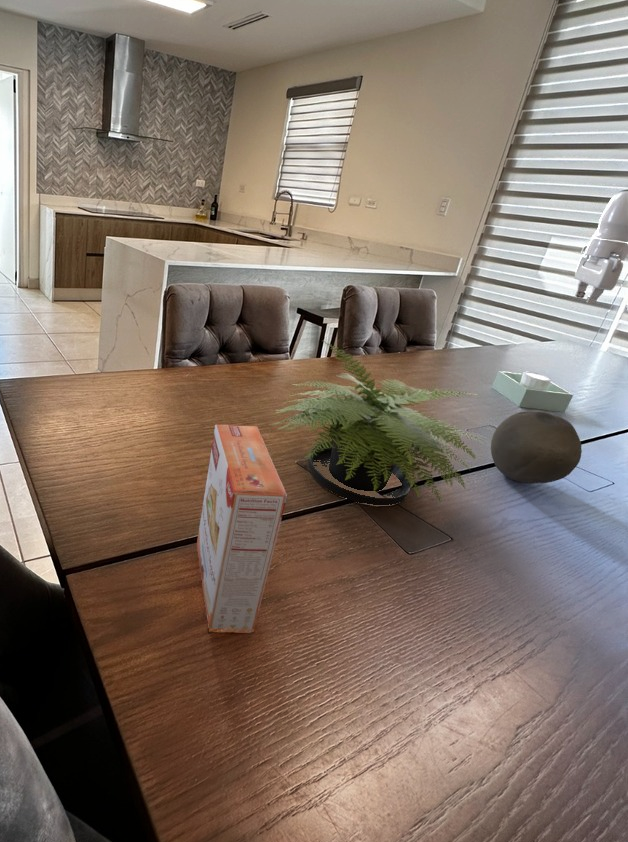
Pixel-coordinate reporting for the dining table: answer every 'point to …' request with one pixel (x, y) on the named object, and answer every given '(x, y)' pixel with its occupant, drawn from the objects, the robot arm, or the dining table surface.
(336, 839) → the dining table surface
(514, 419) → the dark brown rounded lump
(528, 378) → the white short cylinder
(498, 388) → the dish tub
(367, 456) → the fern plant
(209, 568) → the cracker box
